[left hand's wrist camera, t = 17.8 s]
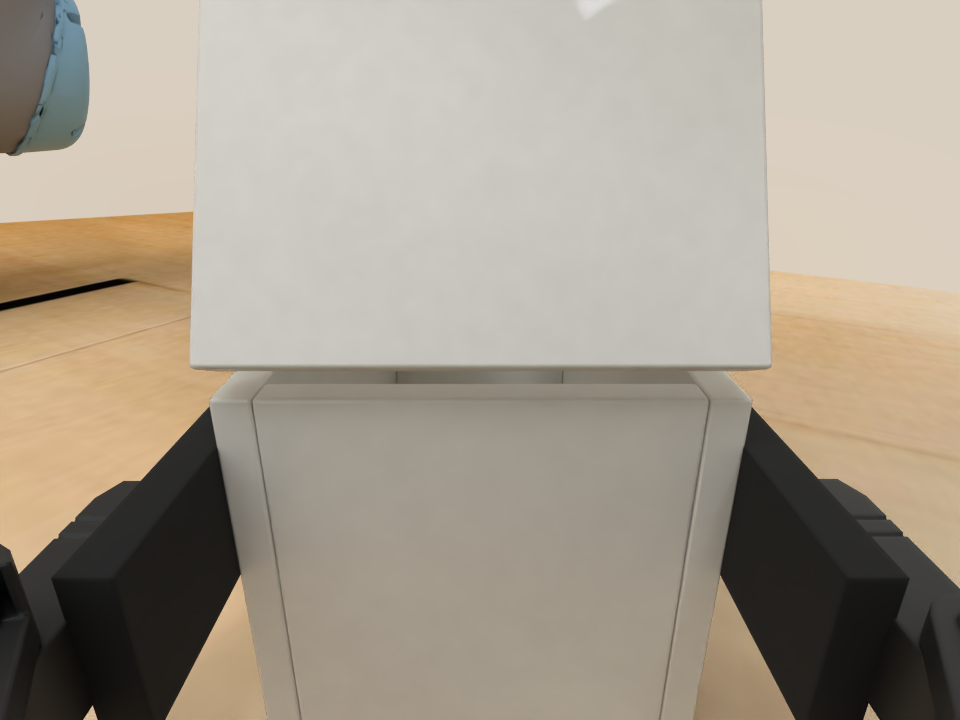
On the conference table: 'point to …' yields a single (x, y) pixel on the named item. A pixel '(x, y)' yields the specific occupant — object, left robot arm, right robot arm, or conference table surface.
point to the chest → (480, 538)
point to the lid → (480, 186)
